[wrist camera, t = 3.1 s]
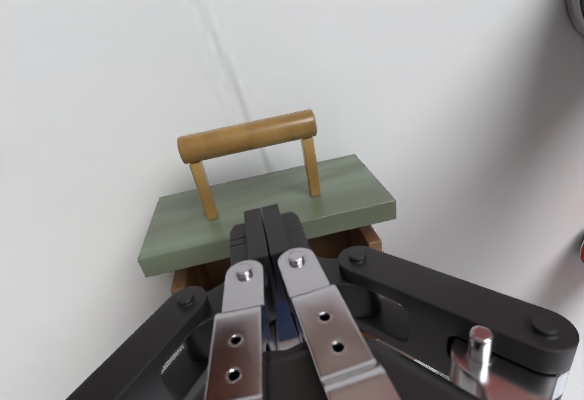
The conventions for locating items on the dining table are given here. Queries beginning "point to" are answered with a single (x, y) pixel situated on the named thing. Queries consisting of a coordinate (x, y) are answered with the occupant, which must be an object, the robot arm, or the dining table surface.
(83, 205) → the dining table surface
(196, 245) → the drawer
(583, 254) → the beverage can
